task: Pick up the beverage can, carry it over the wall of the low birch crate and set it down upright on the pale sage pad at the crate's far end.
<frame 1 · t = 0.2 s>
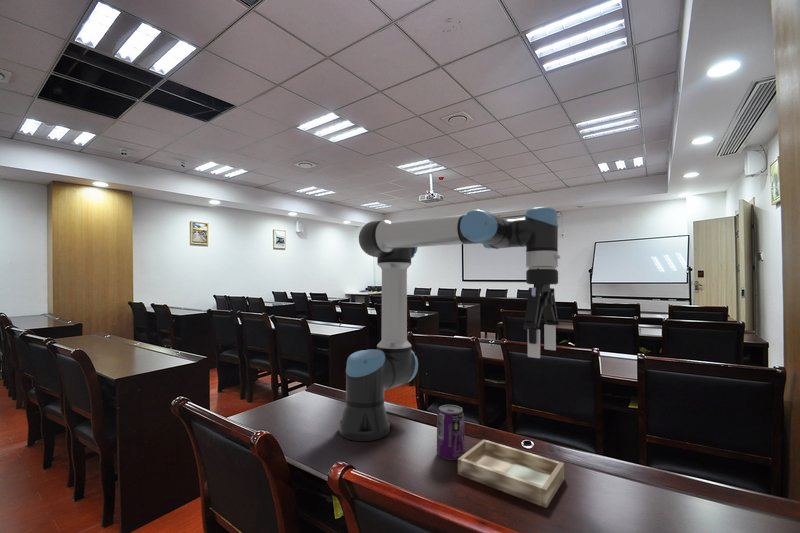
hand: (542, 353, 89), 27 cm above the table, fingers open, 13 cm apart
beverage can: (450, 456, 92), on the table
crate: (510, 476, 82), on the table
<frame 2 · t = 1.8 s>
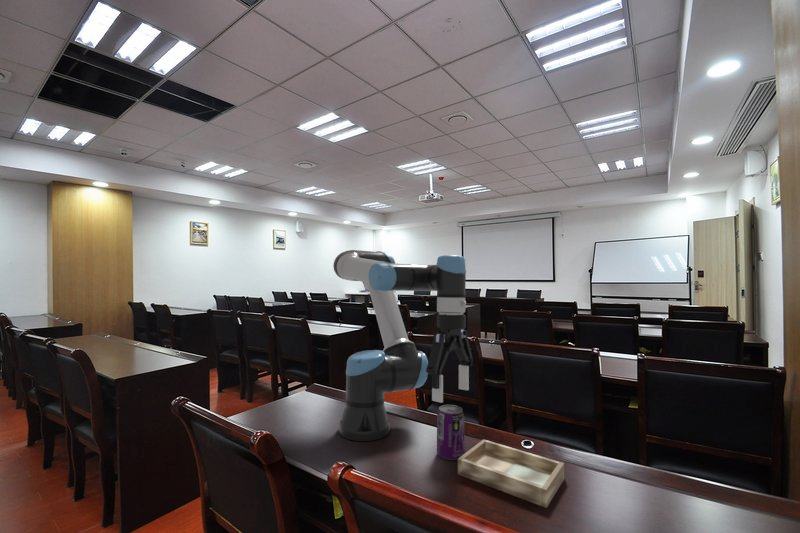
hand: (451, 395, 93), 15 cm above the table, fingers open, 13 cm apart
nothing on the table moved.
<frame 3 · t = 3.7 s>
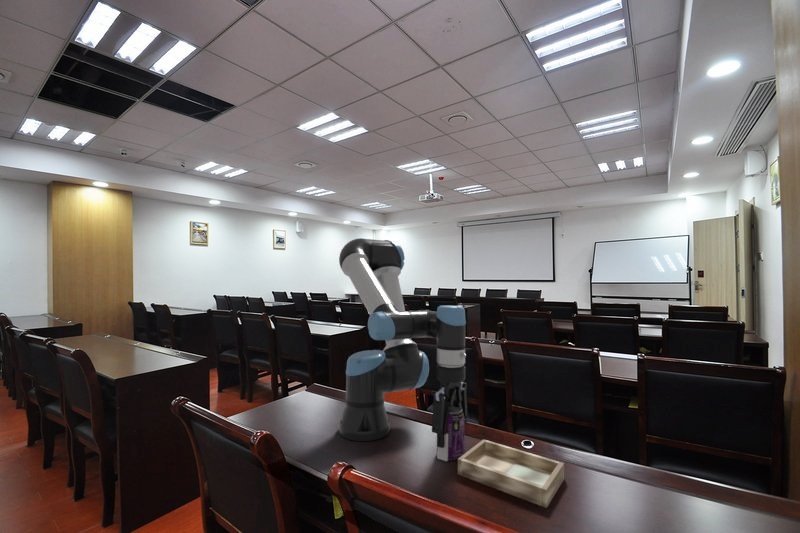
hand: (450, 453, 92), 0 cm above the table, fingers closed on beverage can, 7 cm apart
beverage can: (450, 456, 92), on the table, touching gripper
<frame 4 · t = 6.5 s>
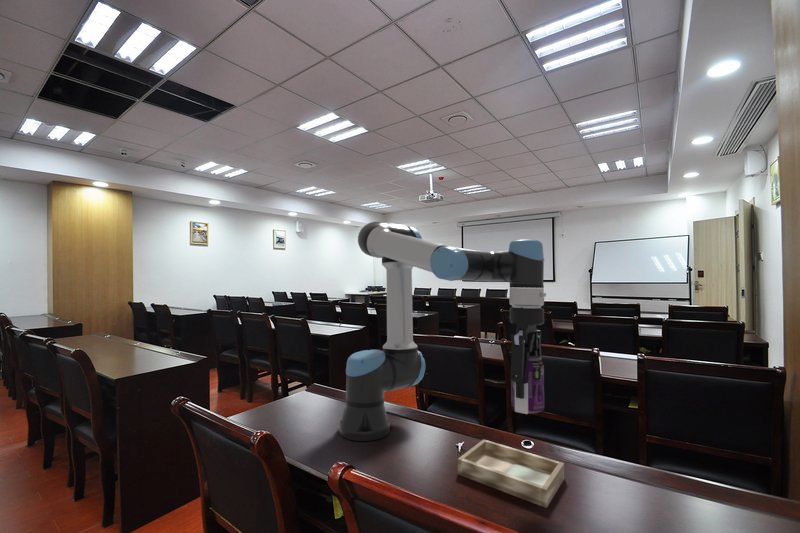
hand: (527, 407, 81), 17 cm above the table, fingers closed on beverage can, 7 cm apart
beverage can: (527, 410, 81), point 16 cm above the table, touching gripper
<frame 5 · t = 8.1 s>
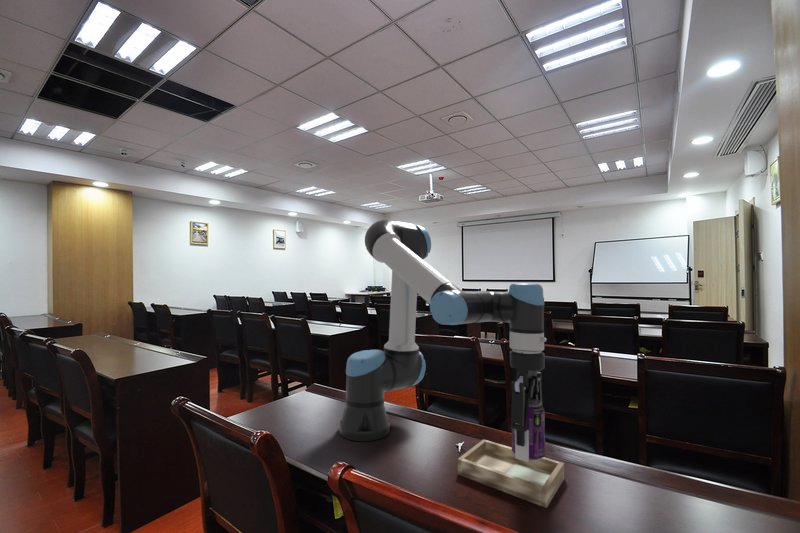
hand: (528, 453, 80), 7 cm above the table, fingers closed on beverage can, 7 cm apart
beverage can: (528, 455, 80), point 6 cm above the table, touching gripper
when the fingers open (4 cm above the table, at t = 9.4 s): beverage can drops 3 cm, resting on crate.
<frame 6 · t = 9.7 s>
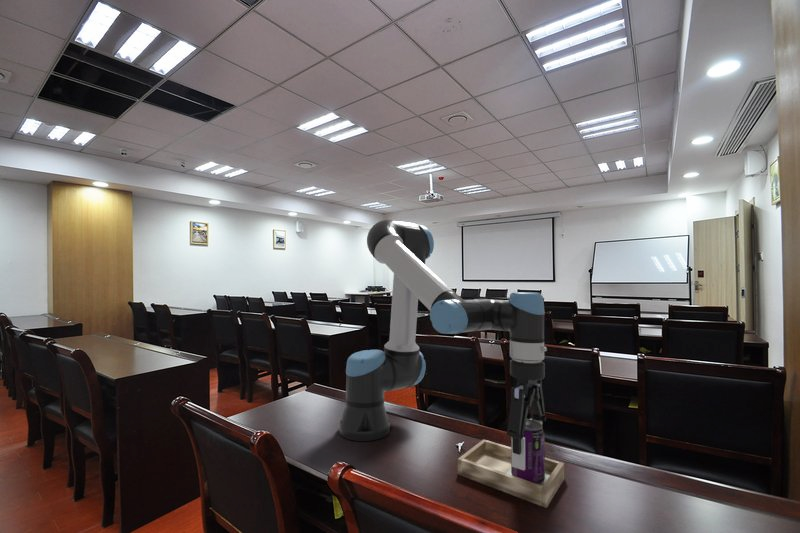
hand: (527, 457, 80), 5 cm above the table, fingers open, 11 cm apart
beverage can: (527, 479, 80), point 1 cm above the table, touching crate
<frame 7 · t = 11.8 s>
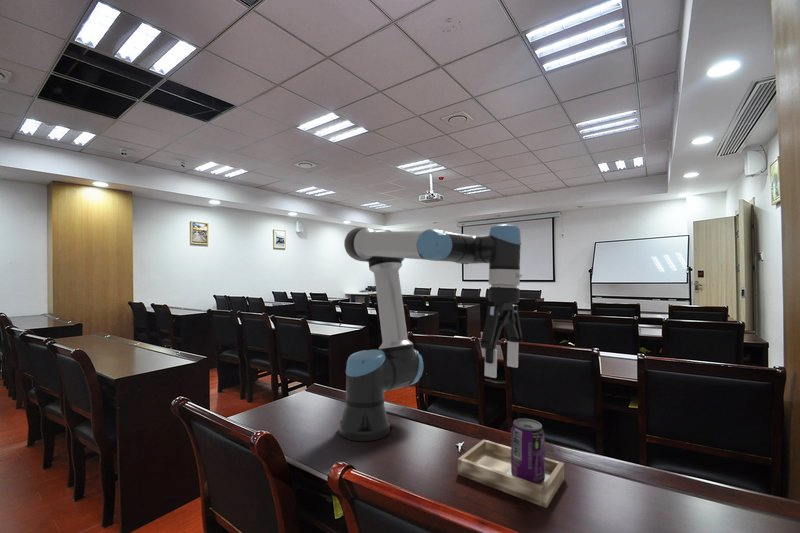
hand: (502, 371, 89), 23 cm above the table, fingers open, 13 cm apart
nothing on the table moved.
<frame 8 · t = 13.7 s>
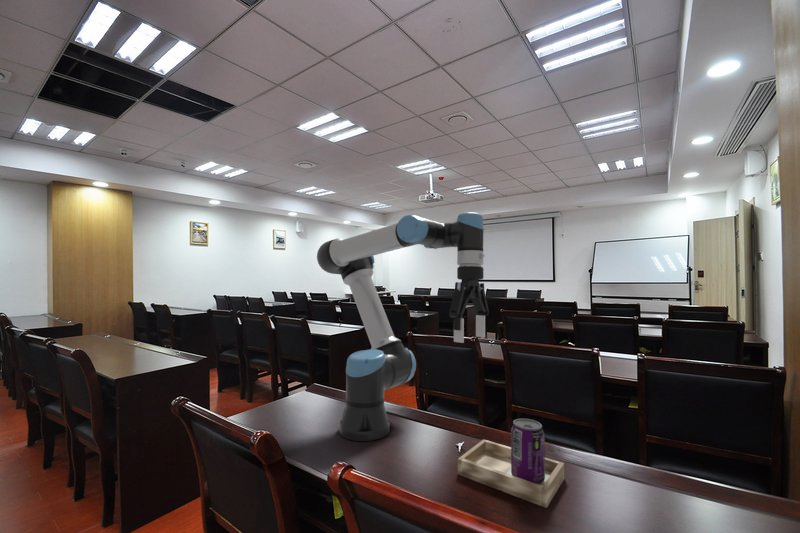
hand: (470, 339, 103), 29 cm above the table, fingers open, 13 cm apart
nothing on the table moved.
at the end: beverage can 0.4 cm from the target spot on the crate, point 1.0 cm above the crate's base; beverage can tilted 0°; the gripper is holding nothing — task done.
